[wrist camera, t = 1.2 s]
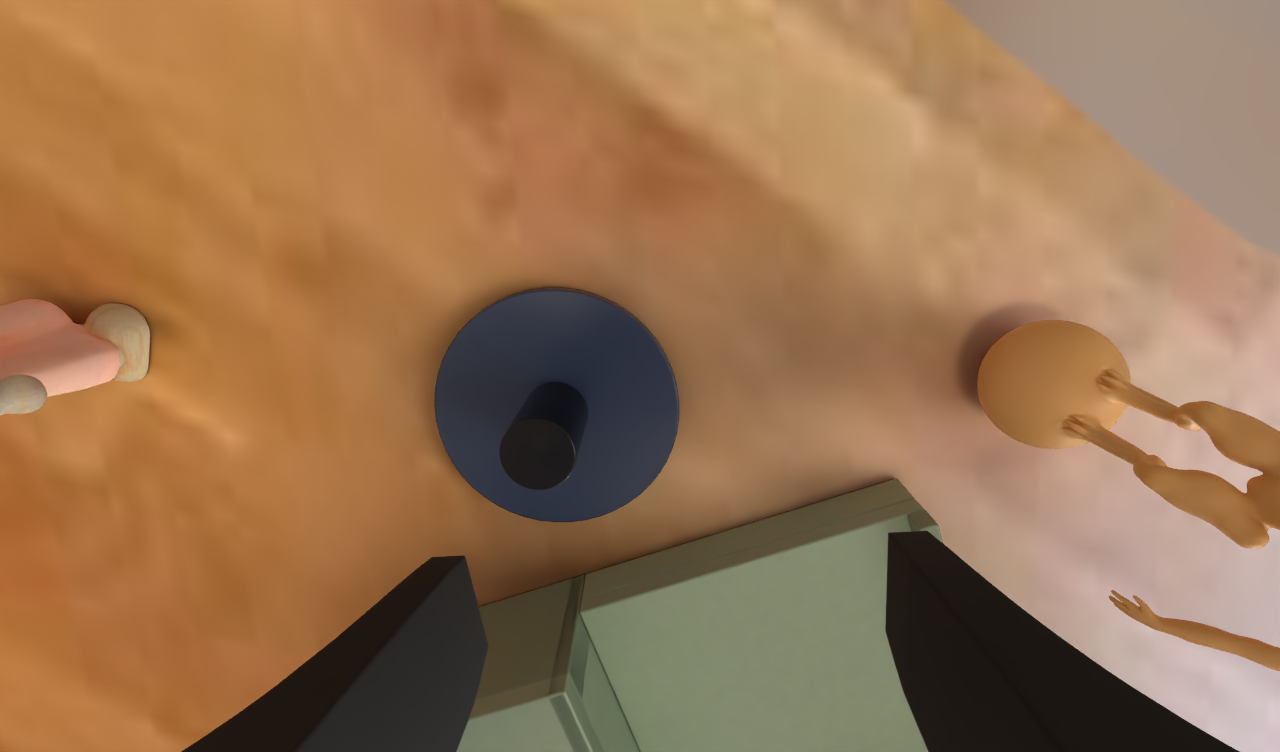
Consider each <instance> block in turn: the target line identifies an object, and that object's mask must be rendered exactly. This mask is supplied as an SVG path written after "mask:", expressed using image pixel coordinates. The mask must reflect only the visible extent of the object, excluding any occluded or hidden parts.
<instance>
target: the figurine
mask: <svg viewBox="0 0 1280 752" xmlns="http://www.w3.org/2000/svg"><path fill="white" fill-rule="evenodd" d="M977 388H978V395H979V399H980V402H981V405H982V407H983V409H984V411H985V413H986V414H987V416H988V417H989V419H990V420H991V421H992V422H993V424H994V425H995V426H996V427H997V428H999V429H1000V430H1001V431H1002V432H1004V433H1005V434H1006V435H1008V436H1010V437H1011V438H1013V439H1015V440H1017V441H1019V442H1022V443H1024V444H1027V445H1031V446H1035V447H1040V448H1048V449H1061V448H1069V447H1075V446H1079V445H1082V444H1085V443H1087V442H1091V443H1093V444H1095V445H1097V446H1099V447H1101V448H1102V449H1104V450H1106V451H1108V452H1110V453H1112V454H1114V455H1115V456H1117V457H1119V458H1121V459H1123V460H1125V461H1127V462H1129V463H1131V464H1133V471H1134V473H1135V475H1136V476H1137V477H1138V478H1140V480H1141V481H1142V482H1143V483H1144V484H1145V485H1147V486H1148V487H1149V488H1151V489H1152V490H1153V491H1155V492H1156V493H1157V494H1159V495H1160V496H1161V497H1163V498H1164V499H1165V500H1166V501H1168V502H1169V503H1171V504H1172V505H1174V506H1175V507H1177V508H1179V509H1181V510H1183V511H1185V512H1187V513H1189V514H1191V515H1194V516H1196V517H1198V518H1201V519H1203V520H1205V521H1206V522H1208V523H1210V524H1212V525H1213V526H1215V527H1216V528H1218V529H1219V530H1220V531H1221V532H1223V533H1224V534H1225V535H1226V536H1228V537H1229V538H1230V539H1232V540H1233V541H1234V542H1236V543H1237V544H1238V545H1240V546H1242V547H1244V548H1249V549H1257V548H1261V547H1263V546H1265V545H1266V544H1267V543H1268V541H1269V536H1268V533H1267V531H1268V529H1269V528H1276V529H1278V530H1280V432H1279V431H1277V430H1276V429H1274V428H1272V427H1270V426H1269V425H1267V424H1265V423H1263V422H1262V421H1260V420H1258V419H1256V418H1254V417H1252V416H1249V415H1247V414H1244V413H1241V412H1238V411H1235V410H1231V409H1228V408H1225V407H1223V406H1220V405H1218V404H1215V403H1212V402H1208V401H1199V402H1190V403H1186V404H1184V405H1182V406H1180V407H1179V408H1178V407H1176V406H1174V405H1172V404H1170V403H1168V402H1166V401H1164V400H1162V399H1160V398H1158V397H1156V396H1154V395H1152V394H1150V393H1148V392H1146V391H1144V390H1142V389H1140V388H1138V387H1136V386H1134V385H1132V384H1131V379H1130V373H1129V369H1128V366H1127V363H1126V361H1125V359H1124V357H1123V356H1122V354H1121V353H1120V351H1119V350H1118V349H1117V347H1116V346H1115V345H1114V344H1113V343H1112V342H1111V341H1110V340H1109V339H1107V338H1106V337H1105V336H1104V335H1102V334H1101V333H1099V332H1097V331H1096V330H1094V329H1092V328H1089V327H1087V326H1084V325H1082V324H1078V323H1074V322H1070V321H1062V320H1045V321H1038V322H1033V323H1029V324H1026V325H1023V326H1020V327H1018V328H1016V329H1014V330H1012V331H1010V332H1008V333H1007V334H1005V335H1004V336H1003V337H1001V338H1000V339H999V340H998V341H997V342H996V343H995V344H994V345H993V346H992V347H991V348H990V349H989V351H988V352H987V354H986V355H985V357H984V359H983V361H982V363H981V366H980V369H979V373H978V380H977ZM1127 404H1128V405H1130V406H1133V407H1135V408H1138V409H1140V410H1143V411H1145V412H1147V413H1149V414H1152V415H1154V416H1156V417H1158V418H1161V419H1163V420H1166V421H1169V422H1172V423H1175V424H1177V425H1178V426H1179V427H1181V428H1183V429H1186V430H1189V431H1197V430H1200V429H1203V430H1205V431H1206V432H1207V434H1208V435H1209V436H1210V438H1211V440H1212V442H1213V444H1214V446H1215V447H1216V448H1217V449H1218V450H1219V451H1220V452H1221V453H1222V454H1223V455H1224V456H1226V457H1227V458H1229V459H1231V460H1232V461H1234V462H1237V463H1239V464H1242V465H1245V466H1248V467H1251V468H1254V469H1257V470H1260V471H1262V472H1263V475H1261V476H1257V477H1254V478H1251V479H1250V480H1249V481H1248V483H1247V493H1246V494H1244V493H1242V492H1241V491H1239V490H1238V489H1237V488H1235V487H1234V486H1233V485H1232V484H1230V483H1229V482H1227V481H1226V480H1224V479H1222V478H1221V477H1219V476H1216V475H1214V474H1211V473H1208V472H1204V471H1199V470H1178V469H1173V468H1169V467H1167V466H1166V464H1165V462H1164V461H1163V460H1161V459H1160V458H1159V457H1157V456H1155V455H1147V454H1146V453H1145V452H1143V451H1142V450H1140V449H1139V448H1137V447H1136V446H1134V445H1132V444H1131V443H1129V442H1127V441H1125V440H1123V439H1122V438H1120V437H1118V436H1117V435H1115V434H1113V433H1112V432H1110V431H1108V430H1109V429H1110V428H1111V427H1112V426H1113V425H1114V424H1115V423H1116V422H1117V421H1118V420H1119V418H1120V417H1121V416H1122V414H1123V412H1124V410H1125V408H1126V406H1127ZM1111 592H1112V593H1113V594H1114V595H1115V596H1116V597H1117V598H1118V599H1119V600H1120V601H1122V602H1123V603H1122V602H1120V601H1118V600H1117V599H1115V598H1113V597H1112V596H1109V598H1110V600H1111V601H1112V602H1113V603H1114V605H1115V606H1116V607H1118V608H1119V609H1120V610H1121V611H1123V612H1124V613H1126V614H1127V615H1129V616H1130V617H1132V618H1133V619H1135V620H1137V621H1139V622H1141V623H1143V624H1145V625H1147V626H1149V627H1151V628H1153V629H1155V630H1158V631H1161V632H1165V633H1168V634H1171V635H1174V636H1177V637H1179V638H1182V639H1184V640H1187V641H1189V642H1192V643H1195V644H1199V645H1203V646H1207V647H1211V648H1215V649H1218V650H1222V651H1225V652H1229V653H1232V654H1236V655H1239V656H1241V657H1244V658H1247V659H1249V660H1251V661H1254V662H1256V663H1258V664H1261V665H1263V666H1266V667H1268V668H1271V669H1274V670H1277V671H1280V648H1278V647H1274V646H1271V645H1269V644H1266V643H1264V642H1261V641H1259V640H1256V639H1253V638H1248V637H1243V636H1239V635H1235V634H1232V633H1229V632H1226V631H1223V630H1221V629H1218V628H1215V627H1212V626H1208V625H1204V624H1201V623H1196V622H1192V621H1186V620H1179V619H1170V618H1162V617H1159V616H1157V615H1156V614H1154V613H1153V612H1152V610H1151V609H1150V608H1149V607H1148V606H1147V605H1146V604H1145V603H1144V602H1143V601H1142V600H1141V599H1140V598H1138V597H1137V596H1133V597H1134V599H1135V600H1136V601H1137V603H1138V604H1139V605H1140V607H1138V606H1137V605H1135V604H1134V603H1132V602H1131V601H1129V600H1128V599H1126V598H1124V597H1123V596H1121V595H1119V594H1118V593H1117V592H1115V591H1113V590H1112V591H1111Z"/></svg>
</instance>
